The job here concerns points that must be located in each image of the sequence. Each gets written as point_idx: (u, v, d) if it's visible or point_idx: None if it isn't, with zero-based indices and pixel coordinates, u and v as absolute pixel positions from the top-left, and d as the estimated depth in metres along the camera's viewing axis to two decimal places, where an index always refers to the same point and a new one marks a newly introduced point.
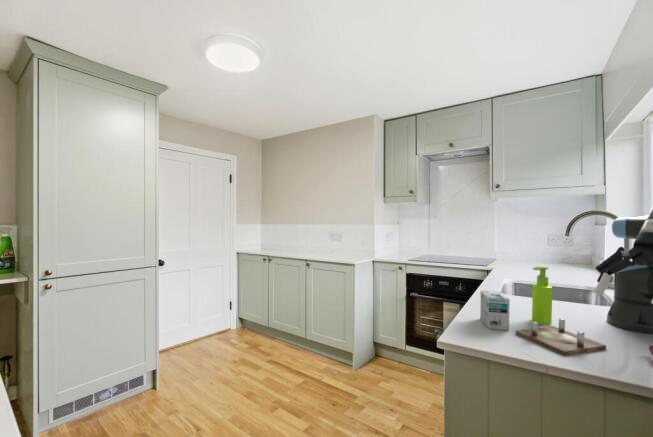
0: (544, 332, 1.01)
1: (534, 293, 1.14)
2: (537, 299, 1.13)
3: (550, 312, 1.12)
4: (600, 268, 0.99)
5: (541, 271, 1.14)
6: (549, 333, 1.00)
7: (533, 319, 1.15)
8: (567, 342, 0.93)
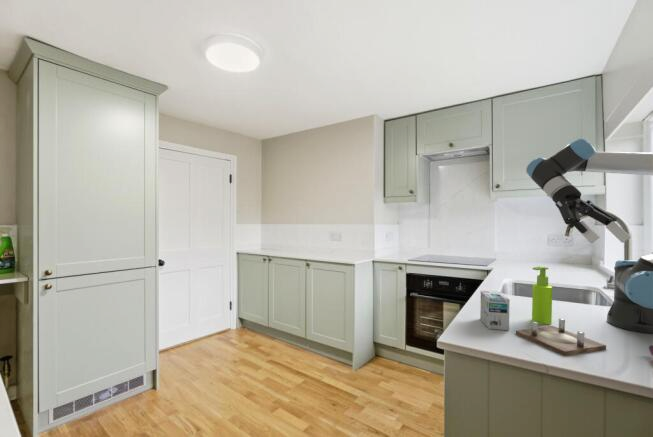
0: (544, 332, 1.01)
1: (534, 293, 1.14)
2: (537, 299, 1.13)
3: (550, 312, 1.12)
4: None
5: (541, 271, 1.14)
6: (549, 333, 1.00)
7: (533, 319, 1.15)
8: (567, 342, 0.93)
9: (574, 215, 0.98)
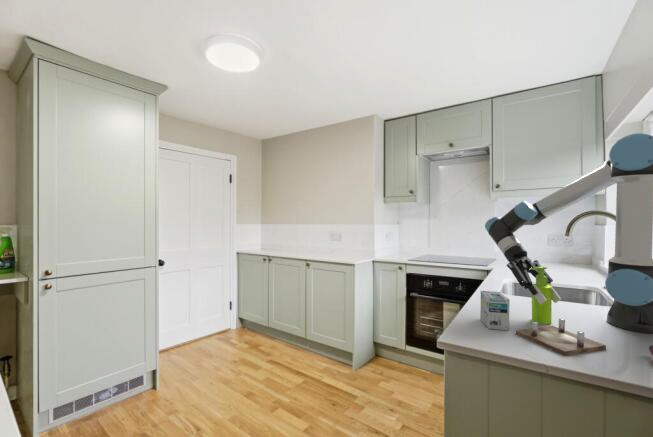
0: (544, 332, 1.01)
1: None
2: (536, 299, 1.13)
3: (550, 312, 1.12)
4: None
5: (540, 271, 1.14)
6: (549, 333, 1.00)
7: (533, 319, 1.15)
8: (567, 342, 0.93)
9: (526, 277, 1.15)
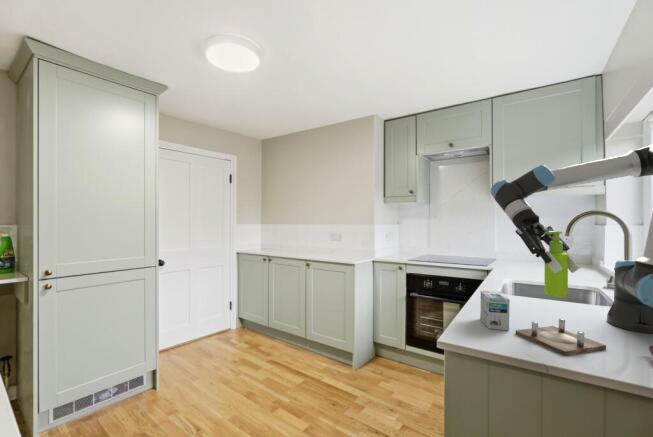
0: (544, 332, 1.01)
1: None
2: (550, 269, 0.97)
3: (566, 283, 0.96)
4: None
5: (554, 236, 0.97)
6: (549, 333, 1.00)
7: (546, 292, 0.99)
8: (567, 342, 0.93)
9: (538, 244, 0.99)
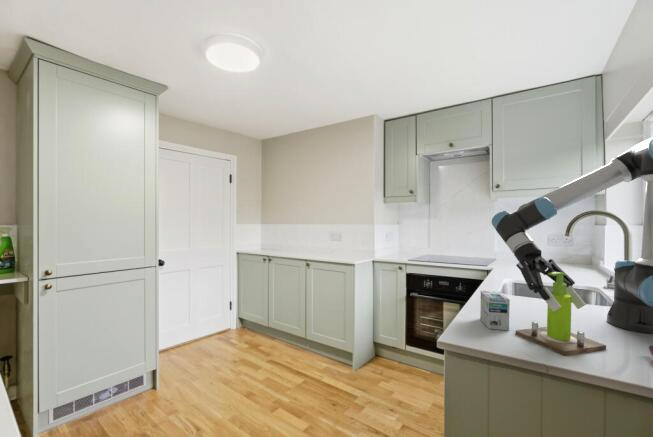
0: (544, 332, 1.01)
1: None
2: None
3: (569, 326, 0.95)
4: None
5: (558, 277, 0.97)
6: None
7: (548, 334, 0.97)
8: (567, 342, 0.93)
9: (537, 280, 0.98)
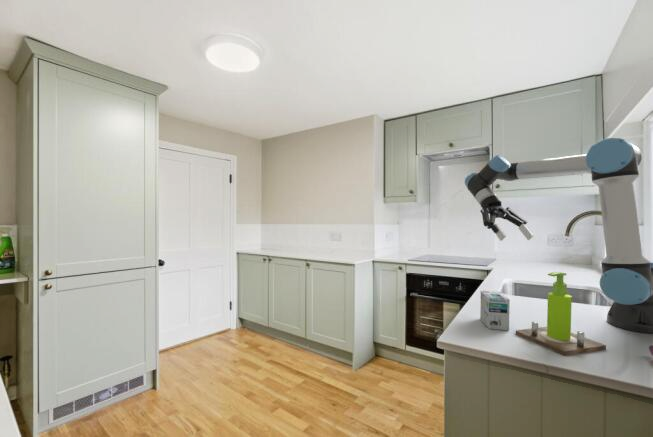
0: (544, 332, 1.01)
1: (550, 303, 0.97)
2: (554, 311, 0.96)
3: (569, 326, 0.95)
4: None
5: (558, 277, 0.96)
6: None
7: (548, 334, 0.97)
8: (567, 342, 0.93)
9: (491, 219, 1.27)
